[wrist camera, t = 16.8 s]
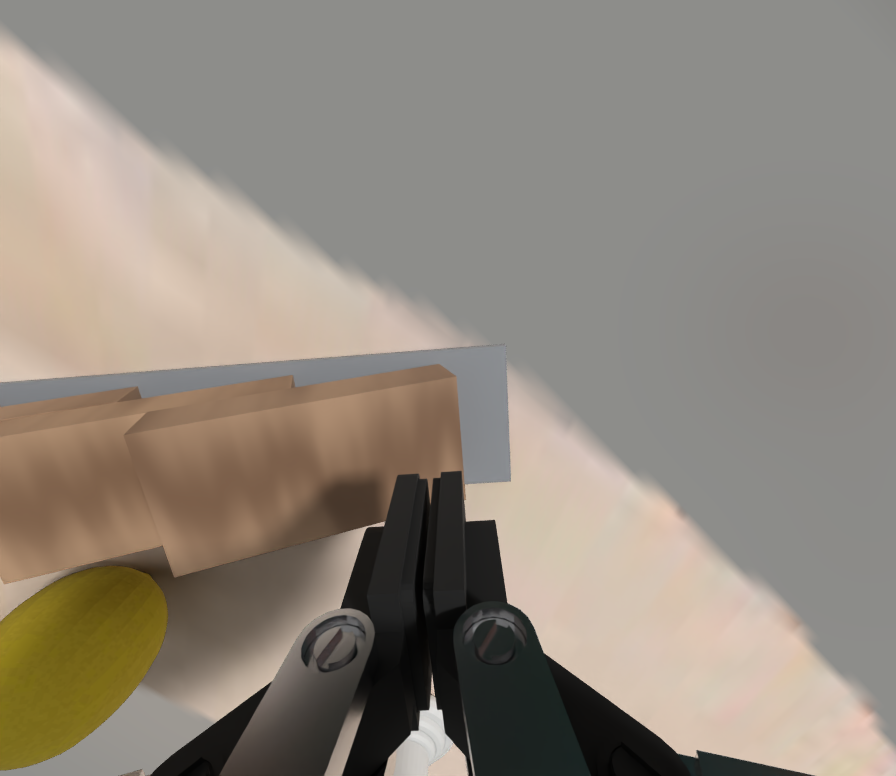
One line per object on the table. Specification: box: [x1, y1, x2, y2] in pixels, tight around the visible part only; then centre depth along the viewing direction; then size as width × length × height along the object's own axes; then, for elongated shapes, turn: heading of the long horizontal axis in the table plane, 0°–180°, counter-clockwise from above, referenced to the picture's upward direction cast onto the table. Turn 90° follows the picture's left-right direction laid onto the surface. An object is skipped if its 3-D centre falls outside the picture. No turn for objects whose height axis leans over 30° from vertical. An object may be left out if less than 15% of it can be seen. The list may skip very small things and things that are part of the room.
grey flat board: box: [0, 344, 511, 484], centre depth 18 cm, size 6×28×1 cm, turn 95°
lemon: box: [0, 566, 168, 770], centre depth 17 cm, size 6×6×8 cm
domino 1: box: [0, 375, 295, 584], centre depth 15 cm, size 5×2×10 cm
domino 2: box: [123, 364, 466, 578], centre depth 15 cm, size 5×2×10 cm
